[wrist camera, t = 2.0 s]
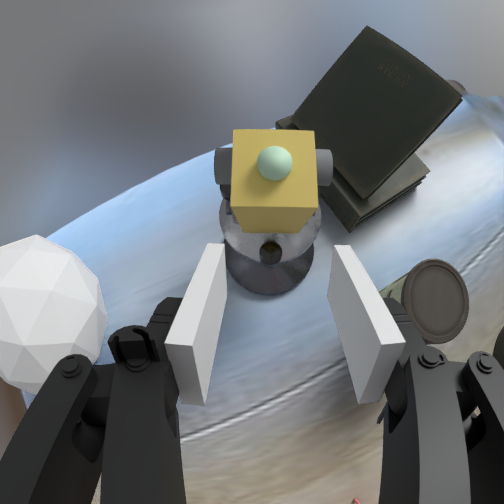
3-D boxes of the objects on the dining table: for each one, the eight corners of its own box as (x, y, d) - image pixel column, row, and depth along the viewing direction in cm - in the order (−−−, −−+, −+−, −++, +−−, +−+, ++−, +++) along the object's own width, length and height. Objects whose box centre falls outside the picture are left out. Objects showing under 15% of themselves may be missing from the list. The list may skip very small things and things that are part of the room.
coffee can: (423, 340, 39) (476, 330, 26) (369, 356, 39) (413, 354, 26) (411, 281, 43) (457, 252, 30) (357, 292, 43) (394, 265, 30)
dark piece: (274, 143, 54) (278, 32, 31) (346, 113, 57) (371, 20, 34) (348, 234, 47) (408, 132, 23) (417, 188, 50) (479, 101, 26)
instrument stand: (314, 295, 43) (344, 257, 27) (222, 294, 44) (197, 255, 27) (310, 212, 48) (329, 144, 32) (227, 211, 49) (211, 143, 32)
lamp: (88, 212, 43) (-7, 191, 20) (188, 382, 45) (156, 474, 21) (15, 274, 43) (-70, 287, 19) (101, 420, 44) (48, 491, 21)
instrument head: (311, 233, 31) (342, 205, 19) (229, 232, 32) (206, 203, 19) (310, 181, 32) (335, 127, 19) (231, 180, 32) (211, 125, 19)
